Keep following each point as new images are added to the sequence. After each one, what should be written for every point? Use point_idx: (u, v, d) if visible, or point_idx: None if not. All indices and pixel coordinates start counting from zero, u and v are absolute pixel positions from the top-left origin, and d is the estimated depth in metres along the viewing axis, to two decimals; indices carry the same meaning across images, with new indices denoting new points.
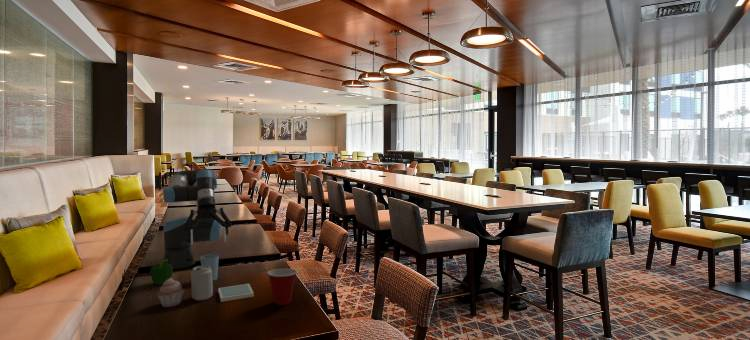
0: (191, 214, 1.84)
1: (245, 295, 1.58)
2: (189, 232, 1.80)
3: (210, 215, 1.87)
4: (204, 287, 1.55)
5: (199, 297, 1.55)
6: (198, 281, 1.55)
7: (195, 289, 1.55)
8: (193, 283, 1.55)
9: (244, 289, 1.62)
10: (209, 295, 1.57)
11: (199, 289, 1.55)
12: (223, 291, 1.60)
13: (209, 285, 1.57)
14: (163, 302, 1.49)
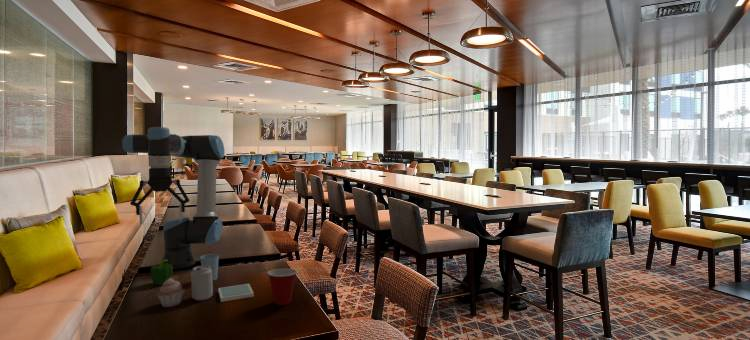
0: (140, 187, 1.55)
1: (245, 295, 1.58)
2: (138, 209, 1.55)
3: (164, 189, 1.59)
4: (204, 287, 1.55)
5: (199, 297, 1.55)
6: (198, 281, 1.55)
7: (195, 289, 1.55)
8: (193, 283, 1.55)
9: (244, 289, 1.62)
10: (209, 295, 1.57)
11: (199, 289, 1.55)
12: (223, 291, 1.60)
13: (209, 285, 1.57)
14: (163, 302, 1.49)
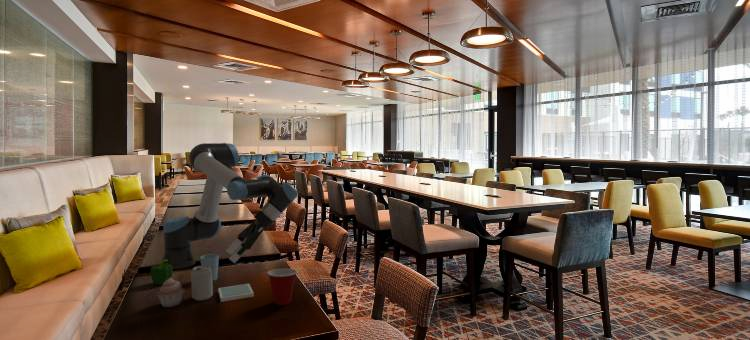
0: None
1: (245, 295, 1.58)
2: None
3: None
4: (204, 287, 1.55)
5: (199, 297, 1.55)
6: (198, 281, 1.55)
7: (195, 289, 1.55)
8: (193, 283, 1.55)
9: (244, 289, 1.62)
10: (209, 295, 1.57)
11: (199, 289, 1.55)
12: (223, 291, 1.60)
13: (209, 285, 1.57)
14: (163, 302, 1.49)
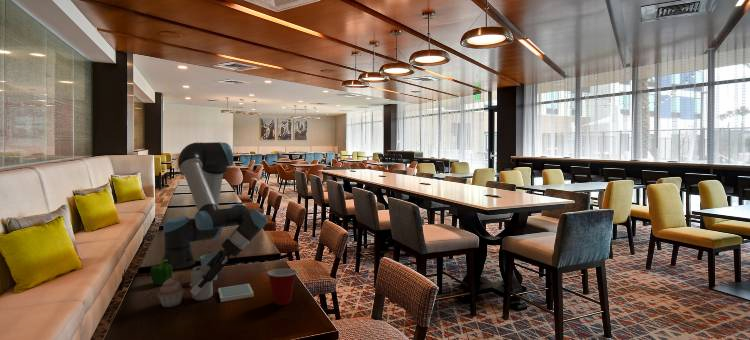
0: None
1: (245, 295, 1.58)
2: None
3: None
4: (204, 287, 1.55)
5: (199, 297, 1.55)
6: (198, 281, 1.55)
7: None
8: (193, 283, 1.55)
9: (244, 289, 1.62)
10: (209, 295, 1.57)
11: None
12: (223, 291, 1.60)
13: (209, 285, 1.57)
14: (163, 302, 1.49)
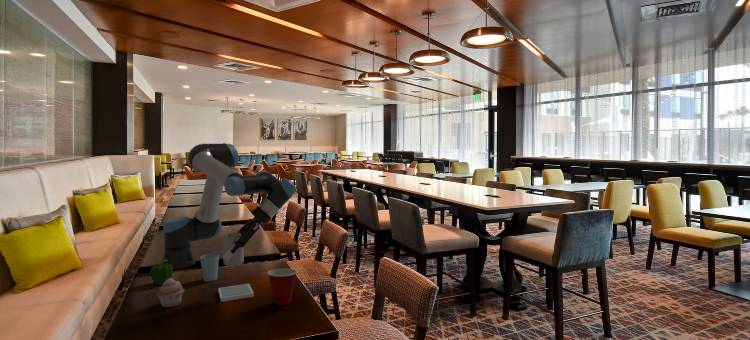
0: None
1: (245, 295, 1.58)
2: None
3: None
4: (235, 253, 1.58)
5: (231, 263, 1.57)
6: (230, 247, 1.57)
7: None
8: (225, 249, 1.58)
9: (244, 289, 1.62)
10: (240, 261, 1.59)
11: None
12: (223, 291, 1.60)
13: (240, 251, 1.59)
14: (163, 302, 1.49)
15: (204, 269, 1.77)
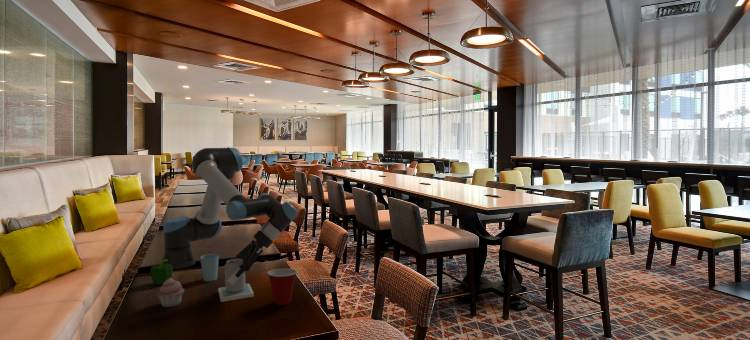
0: None
1: (245, 295, 1.58)
2: None
3: None
4: None
5: (233, 289, 1.58)
6: (231, 274, 1.58)
7: None
8: (227, 275, 1.58)
9: (244, 289, 1.62)
10: (242, 287, 1.60)
11: None
12: (223, 291, 1.60)
13: (242, 277, 1.60)
14: (163, 302, 1.49)
15: (204, 269, 1.77)
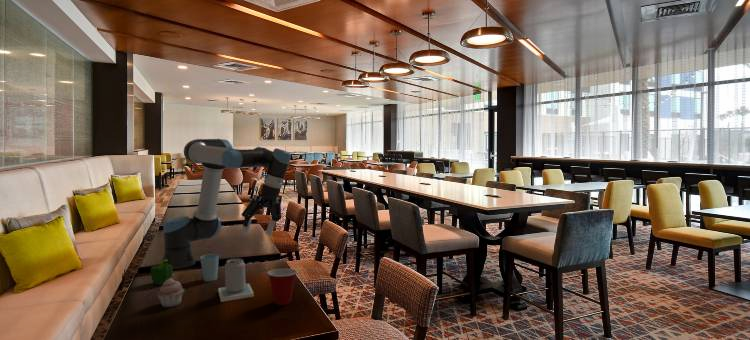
0: (256, 202, 1.64)
1: (245, 295, 1.58)
2: (247, 221, 1.63)
3: (269, 206, 1.71)
4: (237, 279, 1.59)
5: (233, 289, 1.58)
6: (232, 274, 1.58)
7: (229, 281, 1.58)
8: (227, 275, 1.58)
9: (244, 289, 1.62)
10: (242, 287, 1.60)
11: (233, 282, 1.58)
12: (223, 291, 1.60)
13: (242, 277, 1.60)
14: (163, 302, 1.49)
15: (204, 269, 1.77)
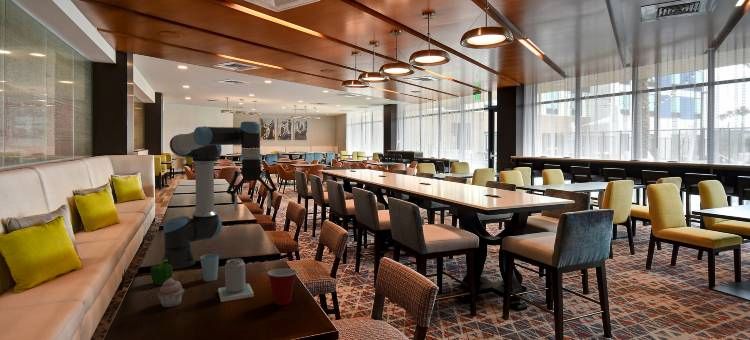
0: (235, 177, 1.68)
1: (245, 295, 1.58)
2: (233, 197, 1.69)
3: (255, 178, 1.72)
4: (237, 279, 1.59)
5: (233, 289, 1.58)
6: (232, 274, 1.58)
7: (229, 281, 1.58)
8: (227, 275, 1.58)
9: (244, 289, 1.62)
10: (242, 287, 1.60)
11: (233, 282, 1.58)
12: (223, 291, 1.60)
13: (242, 277, 1.60)
14: (163, 302, 1.49)
15: (204, 269, 1.77)
